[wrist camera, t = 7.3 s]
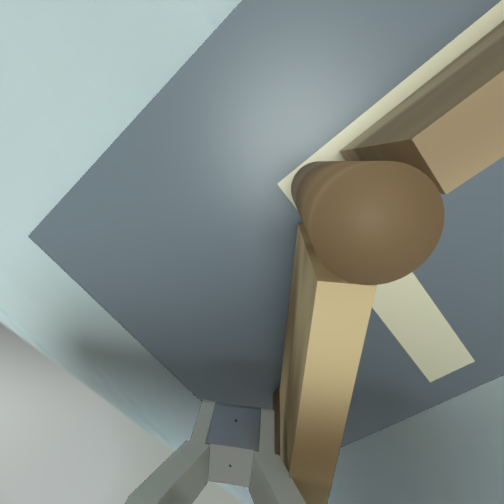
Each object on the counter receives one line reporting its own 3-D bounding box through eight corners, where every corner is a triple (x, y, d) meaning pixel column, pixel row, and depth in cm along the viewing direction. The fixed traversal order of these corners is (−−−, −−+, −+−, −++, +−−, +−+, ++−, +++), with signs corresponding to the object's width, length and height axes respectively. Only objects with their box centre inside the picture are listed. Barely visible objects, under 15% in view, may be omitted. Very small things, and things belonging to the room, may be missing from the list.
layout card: (725, 268, 10) (739, 271, 10) (278, 469, 16) (278, 475, 16) (510, -288, 7) (523, -312, 6) (33, 234, 13) (27, 236, 12)
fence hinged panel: (290, 221, 11) (306, 296, 5) (334, 224, 11) (407, 304, 5) (271, 409, 14) (267, 590, 8) (305, 413, 14) (326, 599, 8)
